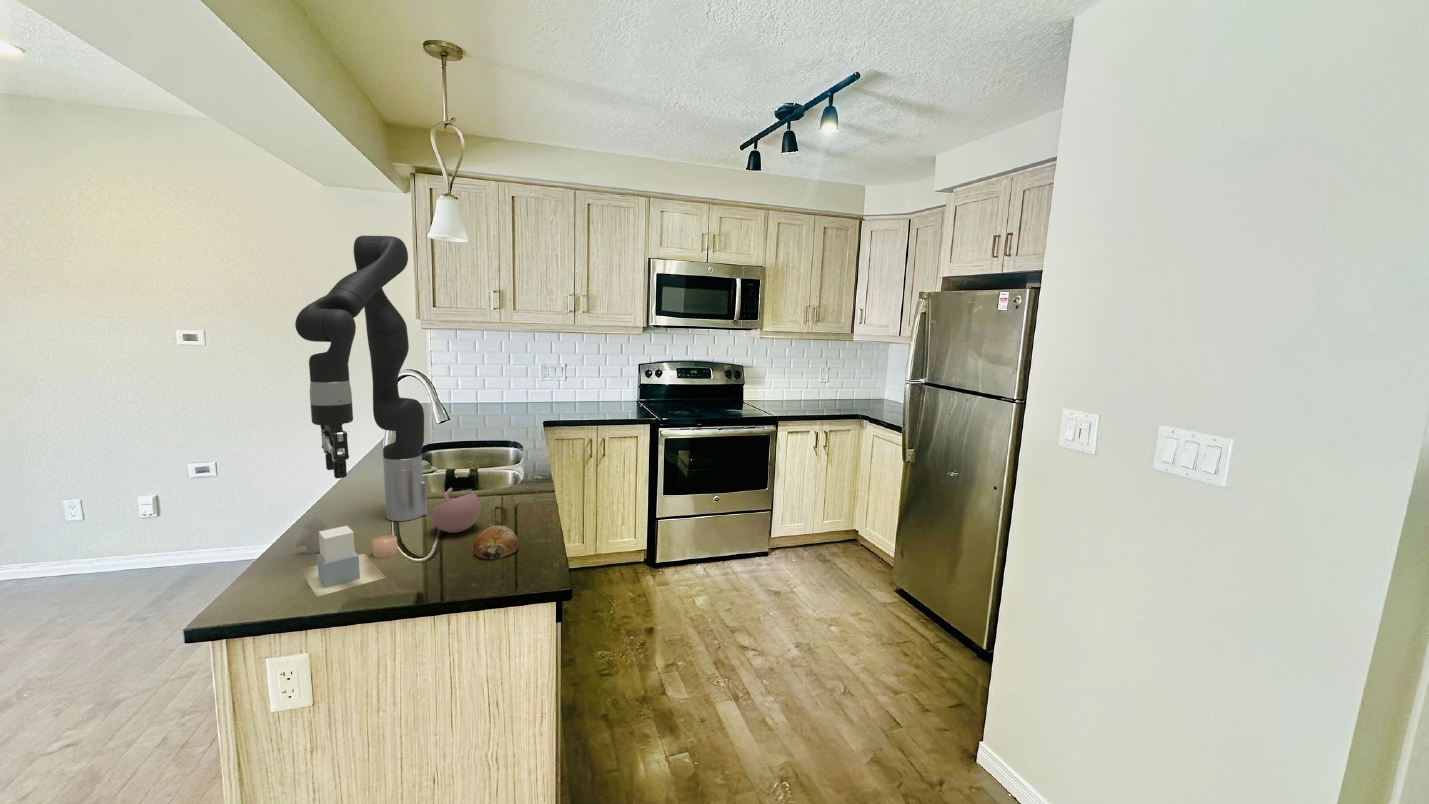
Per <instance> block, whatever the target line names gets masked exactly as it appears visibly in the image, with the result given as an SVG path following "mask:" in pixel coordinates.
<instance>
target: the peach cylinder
mask: <svg viewBox="0 0 1429 804" xmlns="http://www.w3.org/2000/svg"><path fill="white" fill-rule="evenodd" d="M397 554H398V537H397V536H396V535H391V534H389V535H388V534H387V535H386V534H385V535H380V536H378V537H374V538H373V539H372V556H373V557H374V558H376V559H386V558H390V557H393V556H395V555H397Z"/></svg>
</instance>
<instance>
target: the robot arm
mask: <svg viewBox="0 0 1429 804" xmlns="http://www.w3.org/2000/svg"><path fill="white" fill-rule="evenodd" d="M353 257H354V263H355V268H356V271H354V272H351V273H349V274H347V275H345V276H344V277H343V278H341V279H340V280H339V281H338V282H337V283H336V284H335V285H334V286H333V287H332V288H331V290H330V291H329V292H328V293H327V294H326V295H323V296H322V297H319V298H318V299H317V300H314V301H313V302H311V303H309V304H308V305H306V306H305V307H303V308H302V309H301V310H300V311H299V313H298V314H297V316H296V319H295V322H294V323H295V324H294V326H295V329H296V333H297V334H298V335H299V336H300V337H301V338H302V339H304V340H305V341H307V342H308V341H309V342H318V343H320V342H321V343H330V344H329V348H328V350H327V351H325V352H319V353H315V354H312V355H310V356H309V360H308V369H309V381H310V382H309V383H310V384H309V401H310V402H309V403H310V416H311V417H310V418H311V423H312V424H313V425H316V426H320V430H321V431H320V432H321V433H320V435H321V448H322V450H323V453H324V454H325V467H326V470H327V471H333V477H334V479H343V478H346V477H347V476H348V472H347V460H349V458H350V453H349V445H348V444H349V443H348V431H346V430H344V429H343V425H344V424H349V423H352V422H353V420H354V413H353V412H354V409H353V397H352V395H353V394H352V393H353V392H352V387H351V384H350V382H351V381H350V370H349V361H350V355H351V351H352V350H351V349H352V346H353V343H354V338H355V335H356V329H357V328H356V325H357V324H356V321H355V318H356V317H358V315H360V314H361V312H362V310H363V309H364V315H365V324H366V325H365V326H366V335H367V336H366V337H367V343H368V350H369V355H370V366H371V367H370V368H371V378H372V412H373V413H372V414H373V419H374V422H375V424H376V425H377V426H378V427H379V428H380V429H381V430H384V431H389V432H390V431H391V432H395V439H394V442H393V443H392V442H391V443H388V444H386V445H385V446H384V447H383V449H382V456H383V457H382V459H383V476H384V494H385V514H386V519H387V520H389V521H392V522H393V521H394V522H402V521H403V522H405V521H410V520H415V519H418V518H420V517H422V516H424V515H428V512H427V511H428V508H427V491H426V490H427V488H426V487H427V486H426V484H427V483H426V481H424V478H423V459H422V457H423V456H422V454H423V453H422V450H423V446H424V441H425V411H424V408H423V405H422V404H421V402H420V401H419V400H417V399H416V398H415V399H414V398H407V397H400V393H399V382H398V381H399V375H400V372H401V369H402V367H403V365H404V363H405V361H406V359H407V356H408V354H409V349H410V346H409V336H408V335H409V334H408V327H407V323H406V321H405V320H404V318H403V315H401V313H400V312H399V311H398V309H397V308H396V307H395V306H394V305H393V303H392V302H391V301H390V299H389V298H388V296H387V295H386V293H385V291H384V289H383V288H384V286H386V285H387V284H388V283H389V282H391V281H392V280H393V279H394V278H396V277H397V276H398V275H400V274H402V272H403V271H404V270H405V269H406V268H407V265H408V262H409V253H408V249H407V246H406V244H405V242H404V241H403V239H401V238H400V237H396V236H392V235H391V236H390V235H359V236H358V237H356V238H355V240H354V242H353ZM338 453H339V454H338Z"/></svg>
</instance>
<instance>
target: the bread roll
mask: <svg viewBox="0 0 1429 804" xmlns="http://www.w3.org/2000/svg"><path fill="white" fill-rule="evenodd" d="M518 547H519V538H518V536H517V534H516V533H515V532H514V531H513V530H512V529H511V528H508V527H507V526H504V525H491V526H490V527H488V528H486V529H484V530H483V531H482V532H481V533H480V534H478V535H477V536H476V538H475V541H474V544H473V552H474V555H475V556H476V557H477V558H479V559H483V560H498V559H503V558H506V557H508V556H511V555H513V554H514V553H515V552H516V551H517V550H518Z"/></svg>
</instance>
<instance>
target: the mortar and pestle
mask: <svg viewBox="0 0 1429 804" xmlns="http://www.w3.org/2000/svg"><path fill="white" fill-rule="evenodd" d="M452 492H453V487H449V488H448V489H447V491H445V492H443V493H442V496H443V499H444V500H443V501H444V502H443V503H441V504H439V505H436V506H434V507H432V508H430V509H429V516H430V519H431V522H432V523H433V525H434V526H435V527H436V528H438V529H439V530H441V531H443V532H446V533H450V534H452V533H453V534H454V533H455V534H456V533H460V532H464V531H466V530H468V529H469V528H471V527H472V526H473V525H474V524H475V523H476V522H477V521H478V519H479V517H480V513H481V502H480V499H479V497H478V495H477V494H476V493H475V492H473V493H469V494H466V495H462V496H461V495H460V496H459V497H457V498H454V499H451V500H450V497H449V496H450V495H451V493H452Z"/></svg>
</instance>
